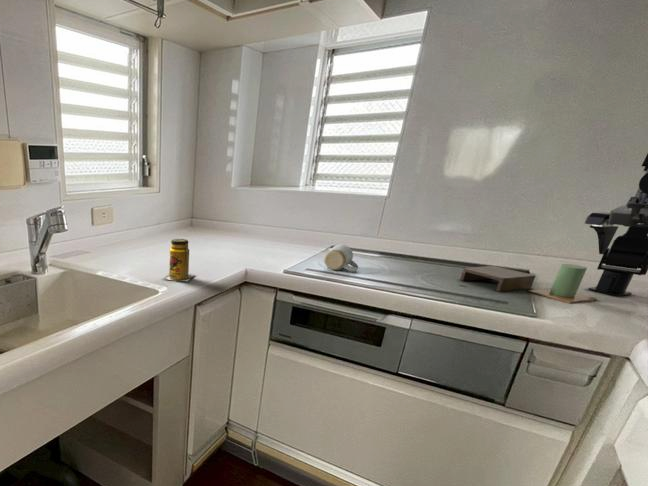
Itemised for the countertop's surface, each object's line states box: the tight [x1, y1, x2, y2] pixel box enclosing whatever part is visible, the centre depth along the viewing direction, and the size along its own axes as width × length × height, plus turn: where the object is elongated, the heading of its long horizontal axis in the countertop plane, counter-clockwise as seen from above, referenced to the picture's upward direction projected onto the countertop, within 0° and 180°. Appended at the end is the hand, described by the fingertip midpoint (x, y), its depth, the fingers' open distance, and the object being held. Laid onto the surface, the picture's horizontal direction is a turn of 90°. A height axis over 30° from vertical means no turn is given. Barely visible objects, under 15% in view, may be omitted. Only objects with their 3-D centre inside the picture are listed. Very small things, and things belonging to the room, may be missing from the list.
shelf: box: [459, 265, 536, 293], centre depth 120 cm, size 12×12×4 cm
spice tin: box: [550, 263, 588, 297], centre depth 109 cm, size 5×5×8 cm
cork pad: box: [527, 287, 598, 304], centre depth 111 cm, size 10×10×1 cm
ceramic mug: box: [323, 244, 360, 273], centre depth 136 cm, size 11×8×8 cm
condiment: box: [165, 238, 195, 282], centre depth 125 cm, size 7×8×12 cm
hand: (624, 257), depth 101 cm, fingers open, 9 cm apart
